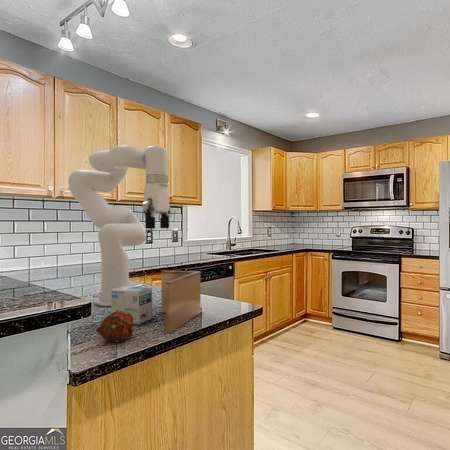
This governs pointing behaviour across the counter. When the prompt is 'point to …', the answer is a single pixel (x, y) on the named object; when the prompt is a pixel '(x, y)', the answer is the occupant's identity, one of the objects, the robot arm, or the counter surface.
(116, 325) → the dragon fruit
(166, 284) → the shelf
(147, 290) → the light bulb box
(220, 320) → the counter surface
